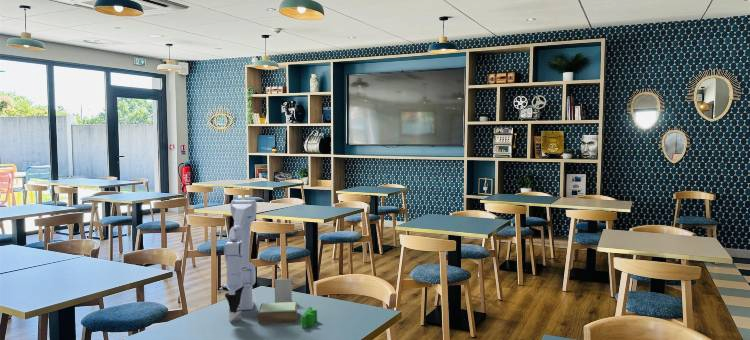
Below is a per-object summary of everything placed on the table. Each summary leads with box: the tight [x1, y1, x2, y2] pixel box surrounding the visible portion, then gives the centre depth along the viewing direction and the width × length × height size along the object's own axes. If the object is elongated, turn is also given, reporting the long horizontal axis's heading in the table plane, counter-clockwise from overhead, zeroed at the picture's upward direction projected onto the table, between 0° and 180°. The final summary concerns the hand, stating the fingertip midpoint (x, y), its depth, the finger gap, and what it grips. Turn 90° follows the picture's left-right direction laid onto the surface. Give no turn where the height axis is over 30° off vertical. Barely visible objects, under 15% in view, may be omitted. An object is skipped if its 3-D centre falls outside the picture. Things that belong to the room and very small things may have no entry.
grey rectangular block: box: [274, 278, 293, 303], centre depth 225 cm, size 4×7×10 cm, turn 95°
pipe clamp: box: [301, 306, 318, 330], centre depth 199 cm, size 11×4×5 cm, turn 173°
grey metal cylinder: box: [228, 306, 242, 324], centre depth 203 cm, size 4×4×5 cm
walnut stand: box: [257, 301, 298, 324], centre depth 206 cm, size 11×14×4 cm
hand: (235, 308), depth 203 cm, fingers open, 7 cm apart
